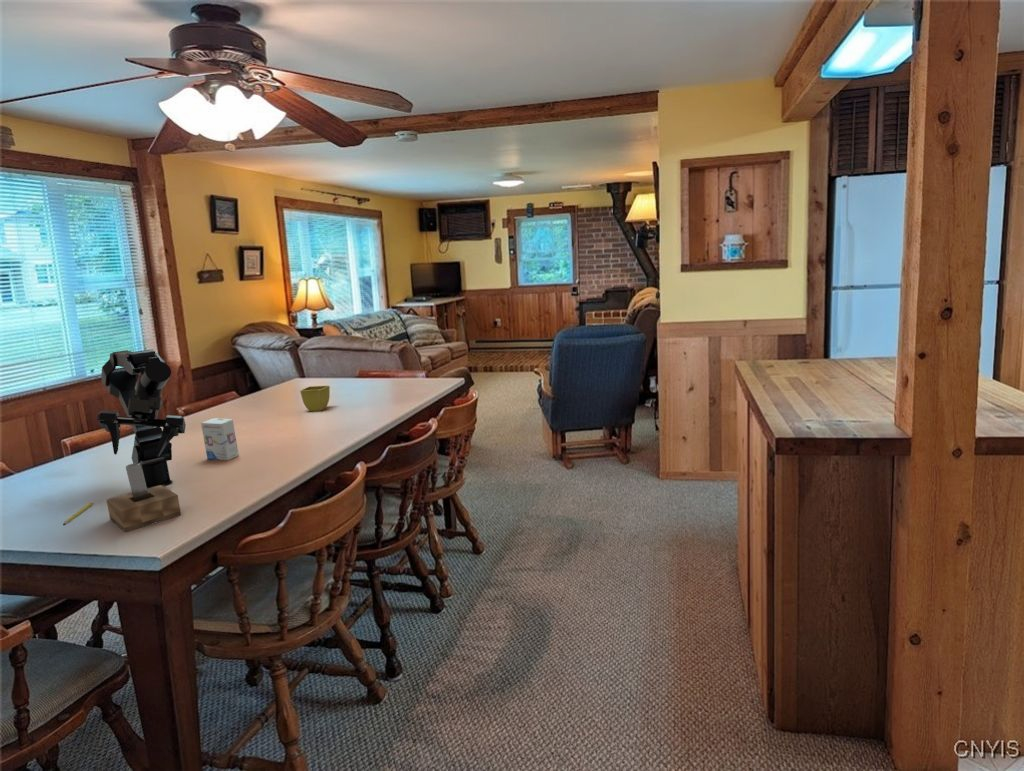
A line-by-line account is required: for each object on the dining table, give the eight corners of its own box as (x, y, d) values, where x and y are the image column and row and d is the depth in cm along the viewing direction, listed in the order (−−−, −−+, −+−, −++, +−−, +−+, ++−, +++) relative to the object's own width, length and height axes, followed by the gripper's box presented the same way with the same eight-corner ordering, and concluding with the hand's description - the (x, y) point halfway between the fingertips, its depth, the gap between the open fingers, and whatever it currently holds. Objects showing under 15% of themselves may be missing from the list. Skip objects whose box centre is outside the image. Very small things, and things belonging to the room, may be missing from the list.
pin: (149, 508, 157) (138, 461, 154) (154, 511, 155) (142, 464, 152) (135, 513, 155) (123, 466, 152) (139, 516, 152) (127, 468, 150)
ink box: (205, 459, 200) (199, 422, 198) (218, 454, 205) (212, 417, 203) (227, 460, 197) (221, 422, 195) (239, 455, 202) (234, 418, 200)
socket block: (164, 503, 163) (160, 484, 162) (181, 514, 155) (177, 494, 154) (110, 519, 155) (106, 499, 154) (125, 532, 146) (121, 511, 145)
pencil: (61, 527, 153) (60, 523, 153) (90, 505, 167) (89, 501, 166) (65, 526, 153) (64, 522, 153) (94, 504, 167) (93, 501, 167)
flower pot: (312, 407, 265) (309, 385, 263) (332, 406, 264) (329, 385, 262) (302, 412, 256) (299, 390, 255) (323, 412, 255) (320, 389, 253)
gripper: (99, 379, 155) (85, 441, 149) (185, 387, 162) (175, 446, 155) (108, 398, 165) (95, 456, 159) (189, 404, 171) (180, 461, 165)
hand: (136, 455), depth 159 cm, fingers open, 9 cm apart
